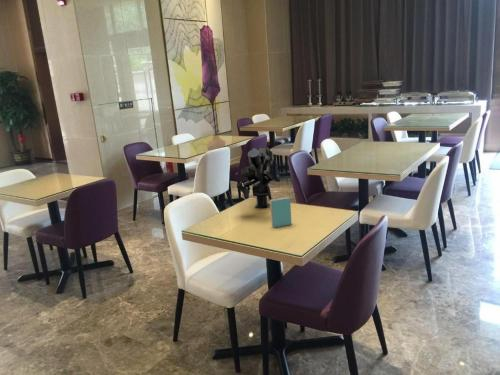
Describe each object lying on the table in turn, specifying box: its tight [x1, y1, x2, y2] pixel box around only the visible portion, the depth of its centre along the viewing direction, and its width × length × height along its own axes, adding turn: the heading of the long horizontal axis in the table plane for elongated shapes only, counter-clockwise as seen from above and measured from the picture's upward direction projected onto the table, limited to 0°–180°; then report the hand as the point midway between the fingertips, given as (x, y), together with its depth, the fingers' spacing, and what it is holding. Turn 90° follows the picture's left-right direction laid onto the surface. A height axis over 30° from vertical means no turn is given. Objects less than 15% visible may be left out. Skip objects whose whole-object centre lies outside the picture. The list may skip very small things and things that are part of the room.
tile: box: [269, 196, 293, 229], centre depth 199 cm, size 2×9×13 cm, turn 105°
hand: (252, 195), depth 206 cm, fingers open, 9 cm apart
